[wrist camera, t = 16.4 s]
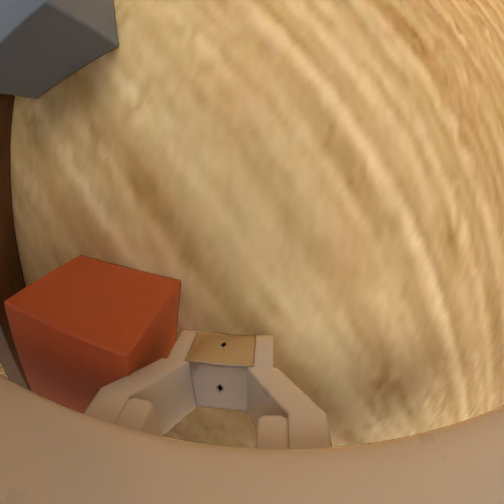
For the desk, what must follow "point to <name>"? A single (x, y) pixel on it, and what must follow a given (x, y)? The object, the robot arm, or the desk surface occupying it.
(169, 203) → the desk surface
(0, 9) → the slate-blue block
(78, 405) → the terracotta block
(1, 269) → the walnut straightedge
